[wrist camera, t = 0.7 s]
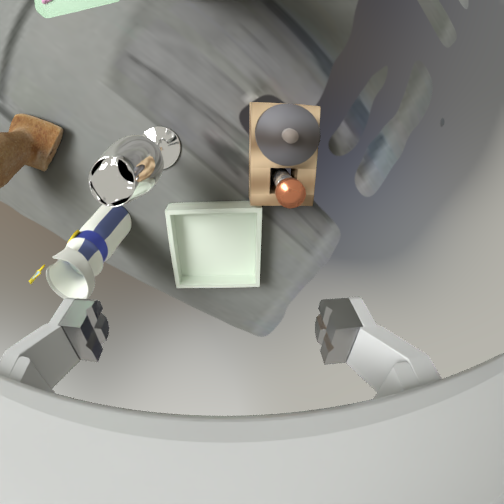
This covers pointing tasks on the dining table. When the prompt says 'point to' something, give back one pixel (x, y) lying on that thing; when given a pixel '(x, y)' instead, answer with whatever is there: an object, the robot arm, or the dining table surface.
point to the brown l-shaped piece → (27, 145)
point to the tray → (215, 243)
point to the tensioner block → (282, 148)
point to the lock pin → (287, 188)
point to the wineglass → (133, 166)
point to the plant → (66, 6)
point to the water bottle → (87, 253)
